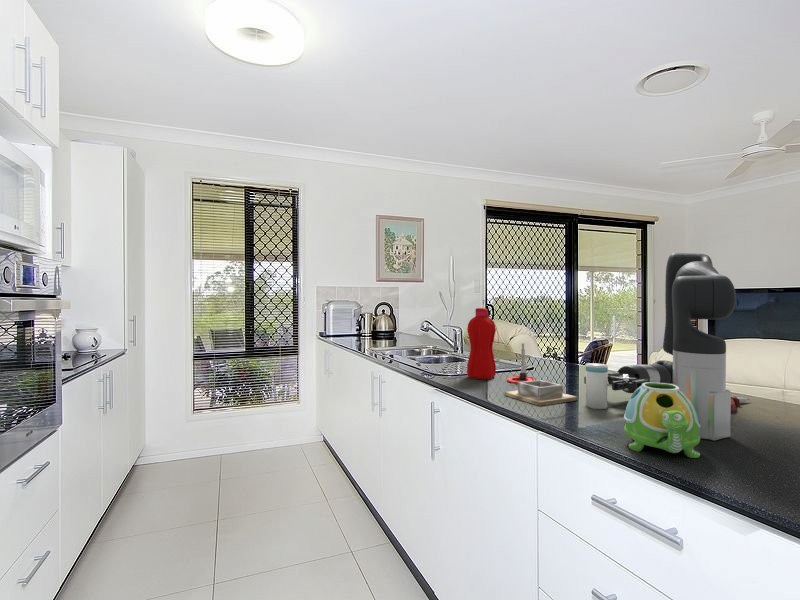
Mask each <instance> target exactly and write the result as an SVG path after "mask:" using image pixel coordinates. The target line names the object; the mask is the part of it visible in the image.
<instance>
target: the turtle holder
mask: <svg viewBox="0 0 800 600" xmlns="http://www.w3.org/2000/svg"><path fill="white" fill-rule="evenodd" d="M623 419H624V423H625V425H624V428H623V431H624V433H625V435H626V436H627V437H628V438H630V439H631V440H633V442H629V443H628V448H629V449H630V450H631V451H634V452H640V453H641V452H642V450H643V449H644V447H645V446H648V447H650V448H651V447H652V448H657V449H660V450H664V451H665V452H668V453H670V454H671V453H672V454H679V453H680V452H682V451H683V453H684V455H685V456H686V457H687V458H691V459H696V458H697V459H698V458H700V457H701V453H700V452H699V451H697V450H695V449H694V448H695V447H696V446H698V445H699V444H700V441H701V438H700V436H699V428H700V424H699V421H698V416H697V413H696V411H695V409H694V406H693V404H692V403H691V402H690V400H689V399H688V398H687V397H686V396H685V395H684V394H683V393H682V392H681V391H680V389H679V387H678V386H676V385H673V384H667V383H654V382H646V383H643V384H642V385H641V386H640V387H639V388H638V389H637V390H636V391H635V392H634V393H632V395H631V396H630V398H629V400H628V402H627V405H626V408H625V413H624V414H623Z"/></svg>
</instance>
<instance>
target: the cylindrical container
mask: <svg viewBox="0 0 800 600" xmlns="http://www.w3.org/2000/svg"><path fill="white" fill-rule="evenodd" d="M608 373H609V368H608V365H607V364H604V363H595V362H592V363H589V362H588V363H585V376H586V384H585V407H586V408H590V409H595V410H604V409H605V410H606V409H608V386H607V383H608Z"/></svg>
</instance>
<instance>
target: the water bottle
mask: <svg viewBox="0 0 800 600" xmlns="http://www.w3.org/2000/svg"><path fill="white" fill-rule="evenodd" d="M474 312H475V316H474V317H472V318H471V319H469V321H468V324H467V329H466V330H467V335H468V339H469V343H470V352H469V356H468V359H467V365H466V367H467V368H466V376H467V377H468V378H469V379H475V380H483V381H486V380H490V379H492V378H494V377H495V376H496V373H497V370H496V369H497V366H496V365H497V364H496V359H495V356H494V351H493V345H496V346H499V344H500V343H499V342H500V339H499V337H500V336H497V344H495V337H496V336H495V335H496V334H497V335H499V333H498V329H497V325H496V323H495V320H493V319H492V318H491V317H489V315H490V313H489V310H488V309H487V308H485V307H477V308H475V310H474Z"/></svg>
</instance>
